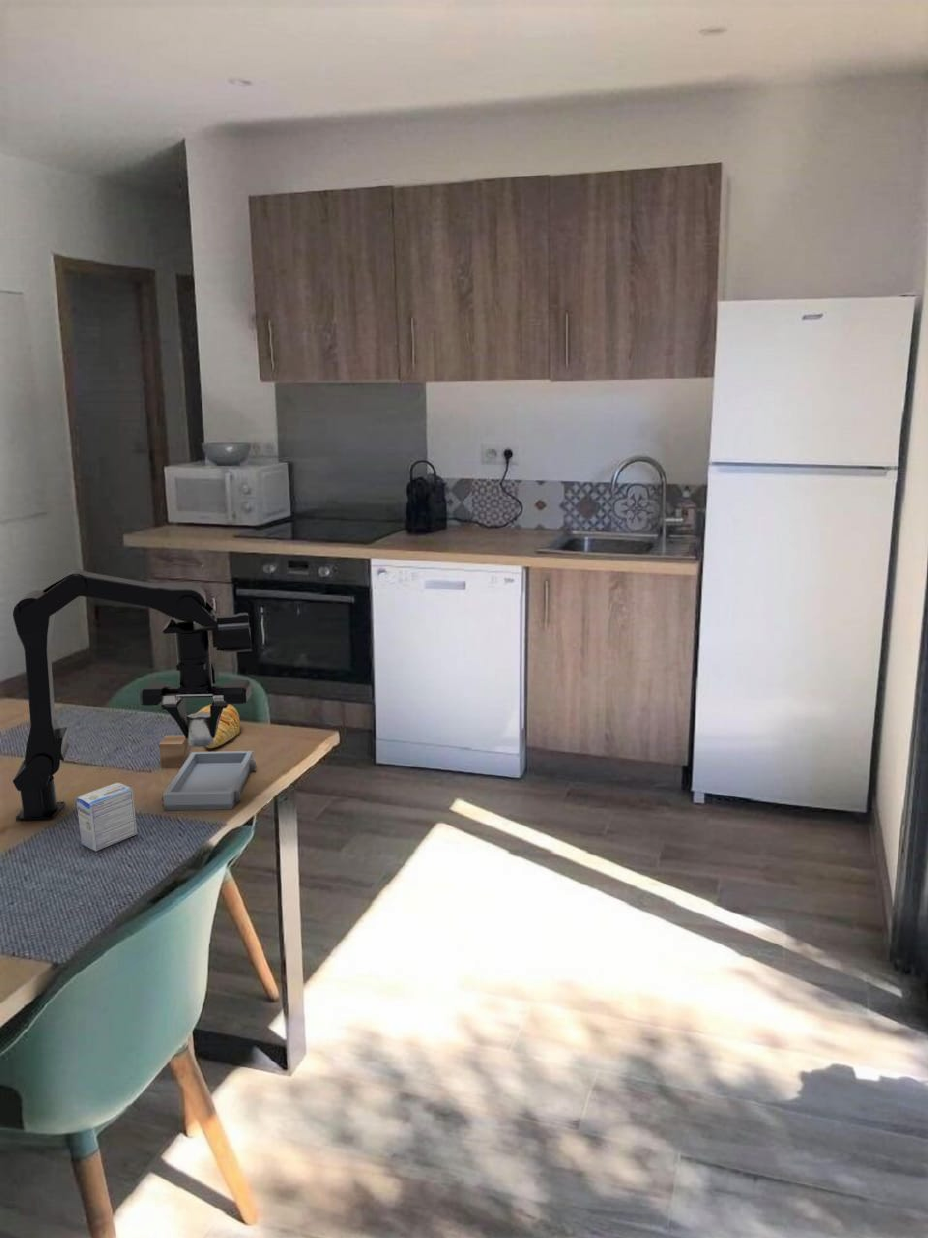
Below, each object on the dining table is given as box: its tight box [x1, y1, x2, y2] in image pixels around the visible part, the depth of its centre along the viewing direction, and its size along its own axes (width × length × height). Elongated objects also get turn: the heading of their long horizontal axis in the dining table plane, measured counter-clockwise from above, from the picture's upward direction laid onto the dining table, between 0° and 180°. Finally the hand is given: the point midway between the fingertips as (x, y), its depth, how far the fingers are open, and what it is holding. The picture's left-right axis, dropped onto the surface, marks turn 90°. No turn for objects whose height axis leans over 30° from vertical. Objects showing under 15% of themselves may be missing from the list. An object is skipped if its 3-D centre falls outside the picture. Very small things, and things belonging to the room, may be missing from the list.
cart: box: [161, 750, 257, 811], centre depth 186 cm, size 20×14×3 cm
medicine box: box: [75, 782, 138, 852], centre depth 165 cm, size 8×4×9 cm, turn 141°
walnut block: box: [158, 734, 191, 768], centre depth 198 cm, size 4×4×5 cm
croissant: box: [196, 703, 241, 749], centre depth 213 cm, size 21×10×8 cm, turn 7°
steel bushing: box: [187, 712, 214, 748], centre depth 180 cm, size 4×4×5 cm
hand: (200, 737), depth 180 cm, fingers closed on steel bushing, 4 cm apart
